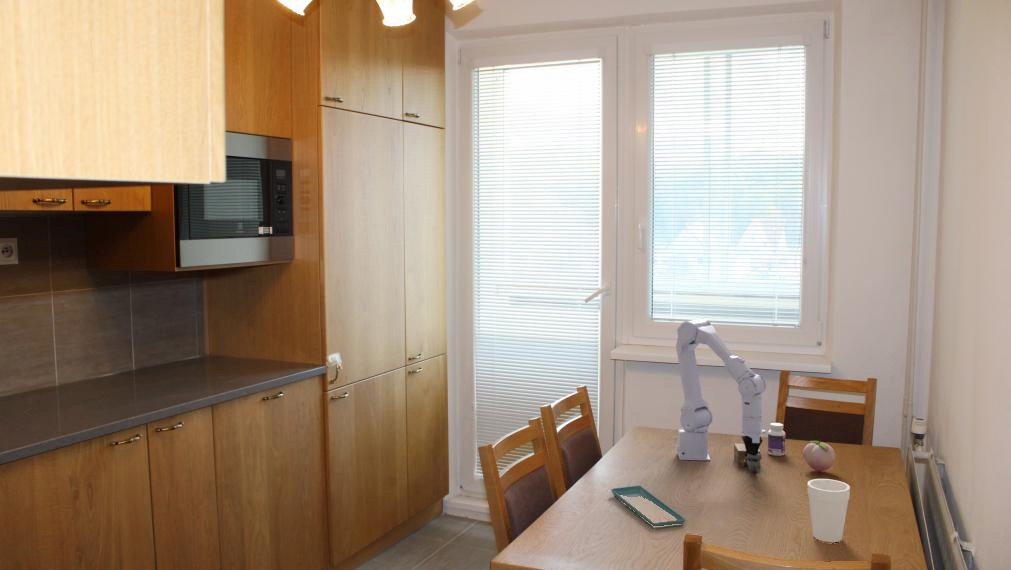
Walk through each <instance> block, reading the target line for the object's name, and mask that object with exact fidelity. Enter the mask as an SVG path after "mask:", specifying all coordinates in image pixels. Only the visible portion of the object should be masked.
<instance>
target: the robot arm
mask: <svg viewBox="0 0 1011 570" xmlns="http://www.w3.org/2000/svg"><path fill="white" fill-rule="evenodd" d="M676 332H677V338H676V339H677V340H676V345H675V349H676V353H677V354H676V355H677V361H678V365H679V372H680V378H681V384H682V385H681V386H682V390H683V398H684V402H683V404H682V405H681V406H680V418H679V422H680V425H681V427H682V428H683V429H678V430H677V448H676V449H677V450H676V451H677V452H676V453H677V456H678V459H679V461H711V458H710V457H711V456H710V455H709V451H708V450H709V448H708V447H709V446H708V445H709V429H710V428H709V427H710V425H711V424H712V423H713V418H714V417H713V413H712V411H711V410H710V408H709V403H708V402H707V401H706V400H705V399H704V398H703V393H702V388H701V381H700V375H699V370H698V364H697V358H696V352H695V351H696V350H695V349H696V348H697V347H698V346H699V344H702V345H707V346H708V348H710V349H711V351H713V352H714V354H715V355H716V356H717V357H718V358H719V359H720V360H721V361H722V362H723V363H724V370H725V371H726V372H727V373H728V375H729V376H730V377H731V378H732V379H733V381H735V383H736V384H737V389H738V392H739V393H740V395H741V430H740V432H741V434H742V435H741V439H742V441H743V444H745V448H746V454H747V458H748V453H758V449H759V450H760V447H761V444H762V443H763V439H762V435H763V434H764V435H765V434H767V431H766V430H765V429H763V393H764V392H765V390H766V387H767V383H766V381H765V379H764V377H763V375H759V374H756V373H755V371H754V370H751V368H750V367H749V366H748V364H746V363H745V359H744V358H743V357H740V356H737V355H733V353H732V351H730V349H729V348H728V347H727V345H726V344H725V343H724V342H723V340H722V339H721V337H720V336H719V335H718V333H717V331H716V328H715V326H714V325H712V323H711V322H710V321H709V320H708V319H706V318H699V319H696V320H695V319H694V320H687V321H683V322H682V323H681V324H680V325H679V326H678V328H677V329H676ZM748 460H750V459H748Z"/></svg>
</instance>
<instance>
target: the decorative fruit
mask: <svg viewBox="0 0 1011 570" xmlns="http://www.w3.org/2000/svg"><path fill="white" fill-rule="evenodd" d="M802 455H803V459H804V461H805V462H806V463H807V465H808V466H809V467H810V468H811V469H812V470H814V471H815V472H818V473H821V472H823V471H827V470H829V469H830V468H831V467H832V466H833V464H834V463H835V460H836V452H835V450H834V449H833V448H832V446H831V445H829V444H828V443H826V442H821V440H820V439H818V440H810V441H809V442H808V444H806V446H805V447H804V449H803V451H802Z"/></svg>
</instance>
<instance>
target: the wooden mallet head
mask: <svg viewBox="0 0 1011 570" xmlns="http://www.w3.org/2000/svg"><path fill="white" fill-rule="evenodd" d="M733 445H734V446H733V447H734V449H733V451H734V452H733V459H734V462H735V461H736V462H735V463H737V464H736V466H737V465H738V466H737V467H740V468H741V467H742V466H743V467H742V468H744V467H745V460H744V454H746V448H745V444H744V443H733ZM758 453H759V454H761V450H760V448H759V449H758ZM759 468H761V459H760V460H759Z"/></svg>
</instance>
